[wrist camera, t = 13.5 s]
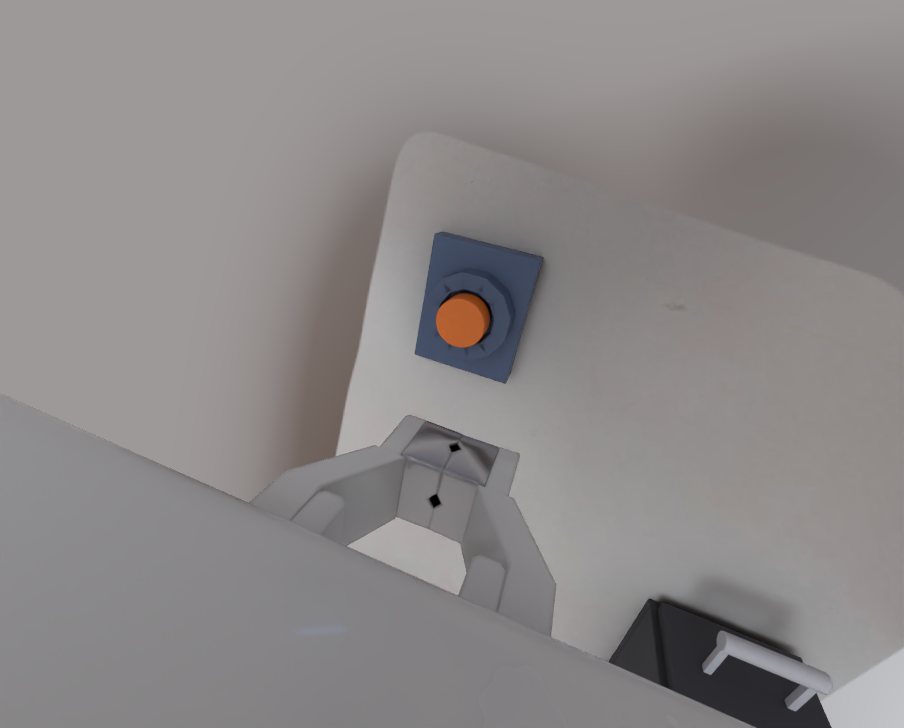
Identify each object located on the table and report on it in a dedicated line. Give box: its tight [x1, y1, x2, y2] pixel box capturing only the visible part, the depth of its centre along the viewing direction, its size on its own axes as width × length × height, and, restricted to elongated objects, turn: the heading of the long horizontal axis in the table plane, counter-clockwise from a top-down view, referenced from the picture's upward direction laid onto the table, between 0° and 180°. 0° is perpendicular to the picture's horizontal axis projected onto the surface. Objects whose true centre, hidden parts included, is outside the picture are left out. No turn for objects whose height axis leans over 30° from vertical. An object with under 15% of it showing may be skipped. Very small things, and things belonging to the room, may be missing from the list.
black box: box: [609, 599, 668, 688], centre depth 36 cm, size 14×13×10 cm
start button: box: [436, 293, 490, 348], centre depth 30 cm, size 4×4×2 cm
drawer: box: [657, 602, 832, 728], centre depth 34 cm, size 17×11×8 cm
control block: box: [415, 232, 543, 383], centre depth 32 cm, size 10×8×4 cm
